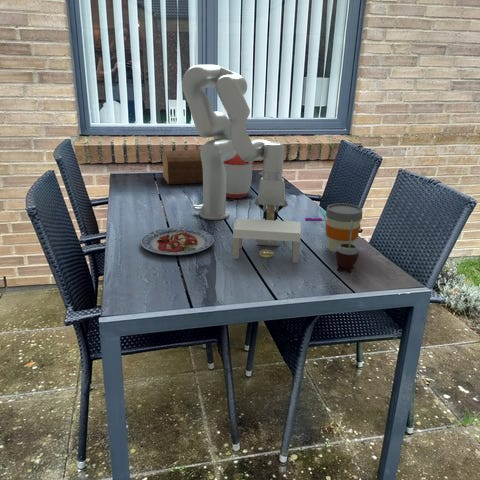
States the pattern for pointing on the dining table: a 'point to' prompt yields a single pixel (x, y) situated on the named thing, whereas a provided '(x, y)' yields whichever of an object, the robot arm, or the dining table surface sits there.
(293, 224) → the white bench
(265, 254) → the brass token
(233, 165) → the citrus juicer
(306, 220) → the squeegee
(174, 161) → the bread
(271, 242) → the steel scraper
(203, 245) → the ceramic plate
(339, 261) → the mate gourd
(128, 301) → the dining table surface
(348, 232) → the reusable coffee cup
